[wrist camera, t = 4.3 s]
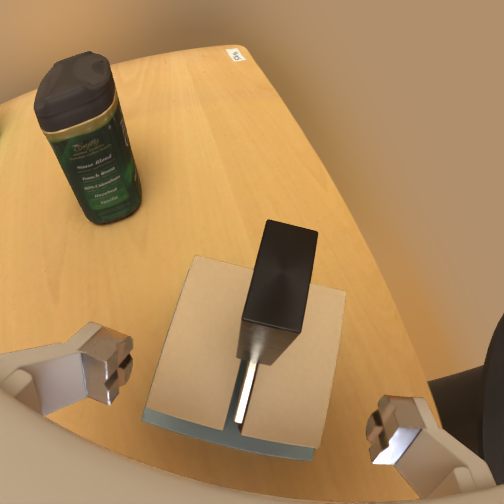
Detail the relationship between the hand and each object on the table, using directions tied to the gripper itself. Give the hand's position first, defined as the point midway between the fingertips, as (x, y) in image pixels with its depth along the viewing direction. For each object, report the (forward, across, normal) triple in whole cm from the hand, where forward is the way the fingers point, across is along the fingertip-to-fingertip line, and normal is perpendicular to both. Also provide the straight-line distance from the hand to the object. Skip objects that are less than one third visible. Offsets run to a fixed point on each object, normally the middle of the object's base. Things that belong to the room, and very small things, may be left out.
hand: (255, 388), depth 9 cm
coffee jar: (+28, +21, +1) cm, 35 cm away
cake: (+17, 0, +12) cm, 21 cm away
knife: (+11, 0, +6) cm, 12 cm away
